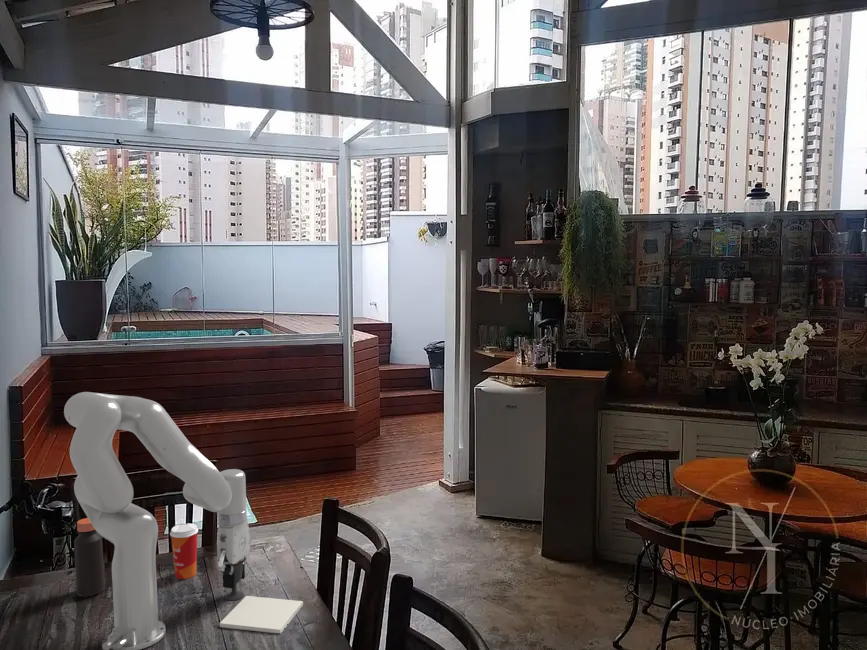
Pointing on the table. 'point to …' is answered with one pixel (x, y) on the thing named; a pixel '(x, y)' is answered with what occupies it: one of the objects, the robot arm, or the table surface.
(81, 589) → the bottle
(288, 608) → the board
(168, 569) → the table surface
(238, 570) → the sundae
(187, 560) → the paper cup
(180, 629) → the table surface
